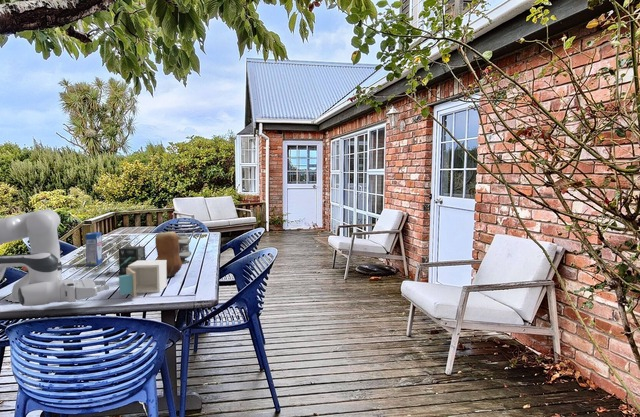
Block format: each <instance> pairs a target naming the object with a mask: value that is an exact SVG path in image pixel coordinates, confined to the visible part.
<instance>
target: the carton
mask: <svg viewBox="0 0 640 417" xmlns="http://www.w3.org/2000/svg"><path fill="white" fill-rule="evenodd" d="M128 268H130V269H131V270H133V271H134V272H135V273H136V294H138V293H139V294H141V293H144V294H145V293H160V292H162V291H163V290H164V289H165V288H166V287H168V277H167V260H157V259H152V260H151V259H150V260H149V259H148V260H146V259H145V260H139V261H136V262H134V263H132V264H130V265H128Z"/></svg>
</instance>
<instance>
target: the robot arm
mask: <svg viewBox="0 0 640 417" xmlns="http://www.w3.org/2000/svg"><path fill="white" fill-rule="evenodd" d="M60 224H61V217H60V215H59V214H58V212H56V211H54V210H53V209H48V208H47V209H46V208H45V209H44V208H43V209H40V210H35V211H31V212H26V213H21V214H17V215H12V216H7V217H2V218H0V245H3V244H7V243H11V242H16V241H21V240H24V239H27V238H28V243H29V246H30V253H24V254H5V255H4V254H3V255H0V281H1V280H2V279H3V277H4V275H5V273H6V270H7V268H16V267H17V268H18V267H22V268H21V271H24V272H27V273H26V274H25V275H24V276H22V277H21V278H20V279H19V280H18V281H16V282H15V283H14V284H13V285H12V289H11V295H8V296H5V301H6V300H8V301H7V302H9V301H12V302H11V303H15V302H20V303H19V304H20V305H21V306H22V307H23V306H24V307H34V306H35V307H36V306H44V305H45V306H46V305H49V304H51V303H64V302H68V303H74V302H76V301H80V300H85V299H90V298H93V297H96V296H98V293H101V292H104V291H108V290H109V289H110V286H109V284H106V280H104V279H101V280H96V279H95V280H93V278H92V277H88V278H87V277H86V278H82V279H74V278H65V279H63V276H62V272H63V266H62V265H63V264H62V261H61V249H60V248H61V245H60V242H59V234H58V228H59V226H60Z"/></svg>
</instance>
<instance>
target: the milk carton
mask: <svg viewBox="0 0 640 417" xmlns="http://www.w3.org/2000/svg"><path fill="white" fill-rule="evenodd" d="M84 236H85V239H84V240H85V257H86V258H85V260H86V267H98V266H100V265H101V264H103V263H104V262H103V241H102V240H103V239H102V238H103V237H102V232H101V231H100V232H99V231H98V232H97V231H96V232H94V231H91V232H88V233H85V234H84Z"/></svg>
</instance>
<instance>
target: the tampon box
mask: <svg viewBox="0 0 640 417" xmlns="http://www.w3.org/2000/svg"><path fill="white" fill-rule="evenodd" d="M139 260H146V246H144V245H143V246H142V245H141V246H139V245H137V246H133V245H132V246H124V247H121V248H120V247H119V248H118V265H119V266H118V267H119V269H118V270H119V272H118V273H119V274H120V275H121V274H122V275H126V268H128V265H130V264H132V263H134V262H136V261H139Z"/></svg>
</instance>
